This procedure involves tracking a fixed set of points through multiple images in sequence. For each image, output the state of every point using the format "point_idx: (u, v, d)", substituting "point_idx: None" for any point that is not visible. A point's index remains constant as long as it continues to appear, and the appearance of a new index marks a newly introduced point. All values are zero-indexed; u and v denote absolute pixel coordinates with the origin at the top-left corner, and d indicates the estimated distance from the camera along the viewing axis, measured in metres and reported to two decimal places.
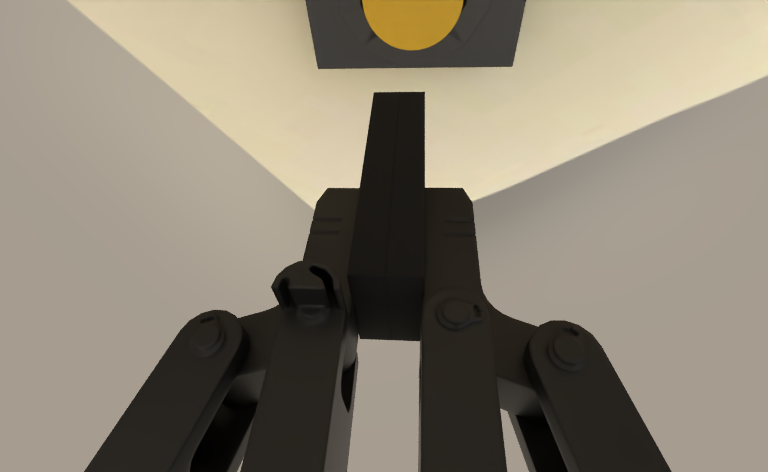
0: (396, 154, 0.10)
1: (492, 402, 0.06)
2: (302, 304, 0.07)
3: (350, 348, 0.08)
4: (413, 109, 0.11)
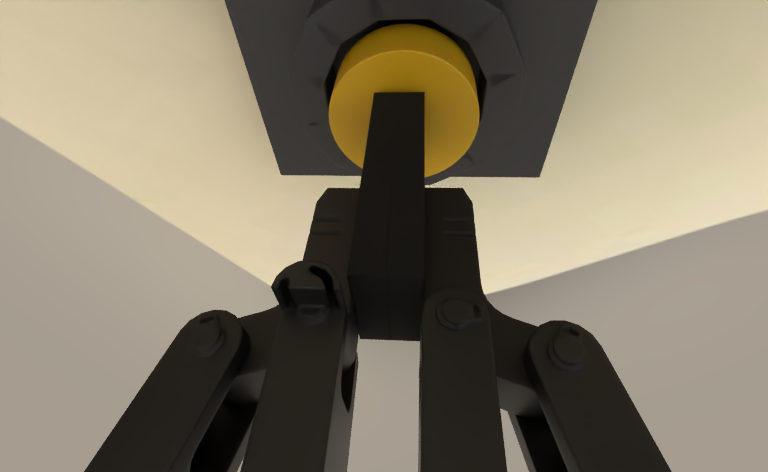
0: (396, 154, 0.10)
1: (492, 402, 0.06)
2: (302, 304, 0.07)
3: (350, 348, 0.08)
4: (413, 109, 0.11)
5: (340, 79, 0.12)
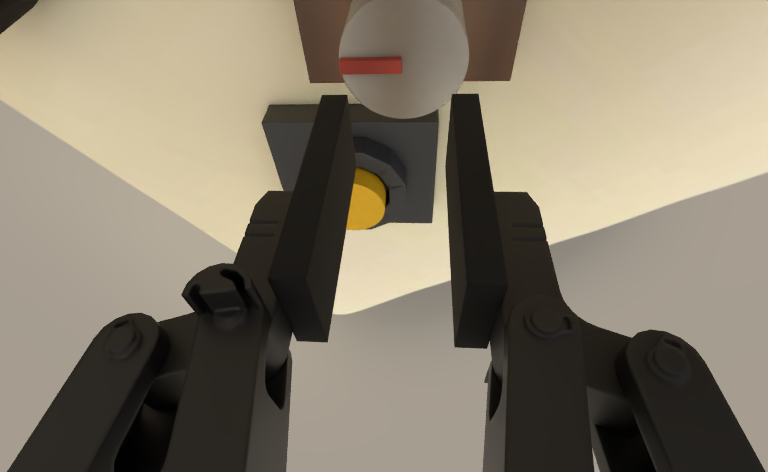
0: (459, 157, 0.10)
1: (582, 419, 0.06)
2: (219, 308, 0.07)
3: (275, 351, 0.08)
4: (469, 111, 0.11)
5: None
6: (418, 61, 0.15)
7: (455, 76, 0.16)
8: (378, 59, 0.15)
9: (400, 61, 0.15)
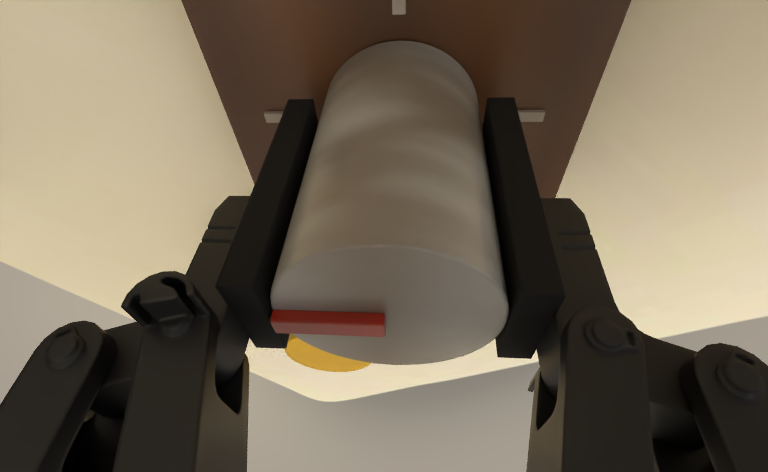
0: (501, 163, 0.10)
1: (645, 438, 0.06)
2: (163, 317, 0.07)
3: (226, 358, 0.08)
4: (507, 115, 0.11)
5: (289, 340, 0.21)
6: (415, 318, 0.08)
7: (481, 334, 0.09)
8: (342, 318, 0.08)
9: (382, 326, 0.08)
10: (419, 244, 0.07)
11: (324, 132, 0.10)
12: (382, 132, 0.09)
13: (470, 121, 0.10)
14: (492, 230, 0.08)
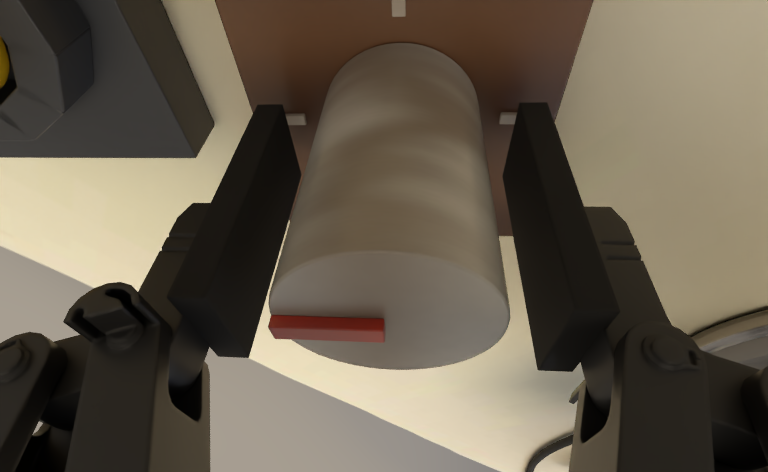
0: (540, 171, 0.09)
1: (706, 462, 0.06)
2: (111, 330, 0.07)
3: (181, 369, 0.08)
4: (542, 121, 0.11)
5: None
6: (415, 324, 0.08)
7: (482, 340, 0.09)
8: (341, 324, 0.08)
9: (381, 332, 0.08)
10: (418, 249, 0.07)
11: (323, 135, 0.10)
12: (381, 135, 0.09)
13: (470, 123, 0.10)
14: (493, 235, 0.08)
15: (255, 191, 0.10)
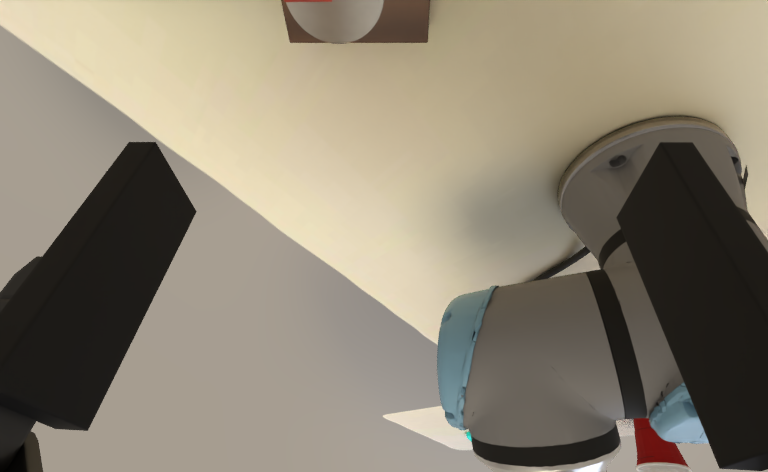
0: (717, 231, 0.08)
1: None
2: None
3: None
4: (695, 166, 0.09)
5: None
6: None
7: (375, 5, 0.20)
8: None
9: None
10: None
11: None
12: None
13: None
14: None
15: (99, 246, 0.09)
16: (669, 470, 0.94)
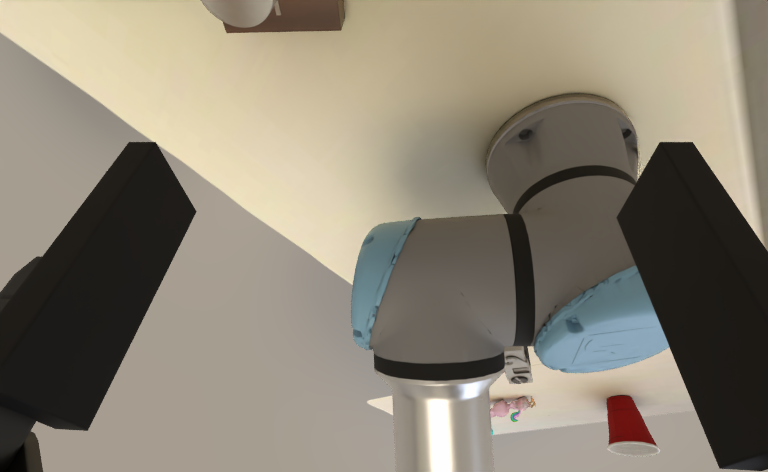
0: (717, 232, 0.08)
1: None
2: None
3: None
4: (695, 166, 0.09)
5: None
6: None
7: None
8: None
9: None
10: None
11: None
12: None
13: None
14: None
15: (99, 245, 0.09)
16: (641, 451, 0.97)
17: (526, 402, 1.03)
